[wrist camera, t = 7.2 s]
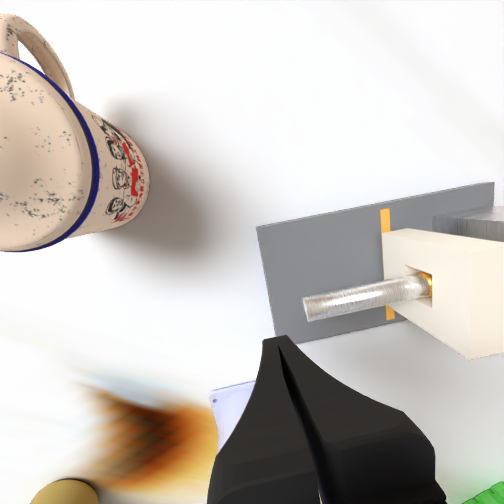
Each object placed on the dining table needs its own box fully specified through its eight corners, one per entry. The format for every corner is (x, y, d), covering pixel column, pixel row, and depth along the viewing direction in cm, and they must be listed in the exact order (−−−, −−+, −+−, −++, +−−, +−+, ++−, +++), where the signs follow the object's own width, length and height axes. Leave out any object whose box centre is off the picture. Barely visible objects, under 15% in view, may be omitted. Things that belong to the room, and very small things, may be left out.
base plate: (476, 297, 25) (489, 302, 24) (276, 340, 24) (279, 348, 23) (480, 183, 22) (495, 181, 21) (256, 226, 21) (257, 228, 20)
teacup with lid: (158, 230, 21) (69, 266, 9) (49, 232, 20) (-195, 273, 8) (145, 77, 18) (-3, -135, 7) (19, 72, 17) (-389, -175, 6)
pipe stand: (479, 285, 23) (659, 346, 13) (295, 325, 22) (345, 420, 13) (483, 206, 21) (693, 209, 12) (283, 245, 21) (329, 285, 11)
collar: (409, 299, 22) (505, 351, 14) (385, 304, 22) (469, 360, 14) (407, 228, 21) (513, 243, 13) (381, 233, 21) (473, 252, 13)
